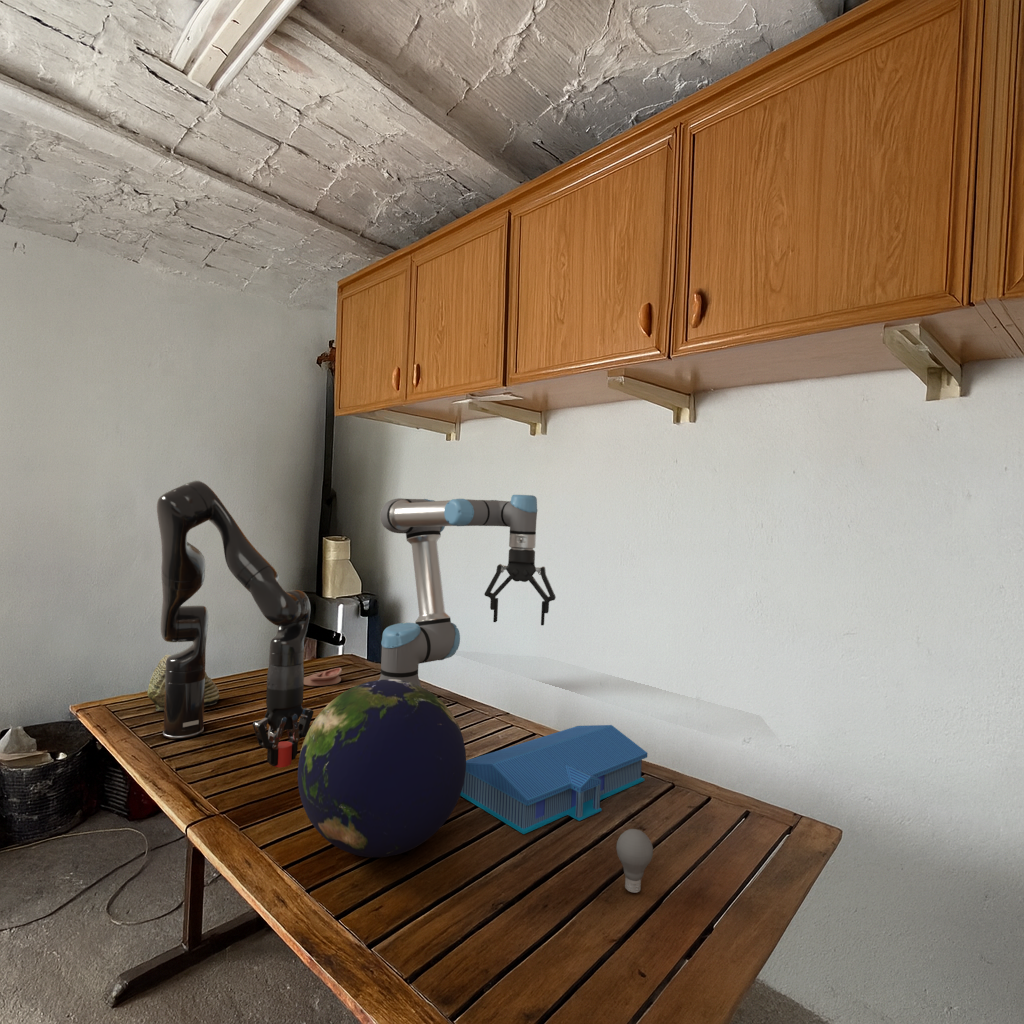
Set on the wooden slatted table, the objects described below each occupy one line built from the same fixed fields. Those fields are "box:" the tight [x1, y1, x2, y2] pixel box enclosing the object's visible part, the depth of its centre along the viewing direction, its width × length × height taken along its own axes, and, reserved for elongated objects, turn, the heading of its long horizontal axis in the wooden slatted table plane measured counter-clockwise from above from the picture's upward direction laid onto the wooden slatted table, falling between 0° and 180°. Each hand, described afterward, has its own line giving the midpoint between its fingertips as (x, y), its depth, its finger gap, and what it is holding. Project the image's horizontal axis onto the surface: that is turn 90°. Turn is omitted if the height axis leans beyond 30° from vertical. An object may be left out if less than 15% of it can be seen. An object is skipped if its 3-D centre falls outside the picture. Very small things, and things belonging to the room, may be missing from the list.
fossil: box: [147, 654, 221, 712], centre depth 185 cm, size 9×18×15 cm, turn 132°
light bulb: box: [615, 828, 654, 894], centre depth 106 cm, size 6×6×10 cm
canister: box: [273, 740, 293, 769], centre depth 137 cm, size 4×4×4 cm
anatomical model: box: [304, 667, 343, 687], centre depth 214 cm, size 13×4×12 cm
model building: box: [460, 724, 649, 835], centre depth 142 cm, size 39×24×10 cm, turn 132°
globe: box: [297, 679, 467, 858], centre depth 116 cm, size 30×30×30 cm
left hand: (282, 761), depth 137 cm, fingers closed on canister, 3 cm apart
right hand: (518, 623), depth 181 cm, fingers open, 13 cm apart
